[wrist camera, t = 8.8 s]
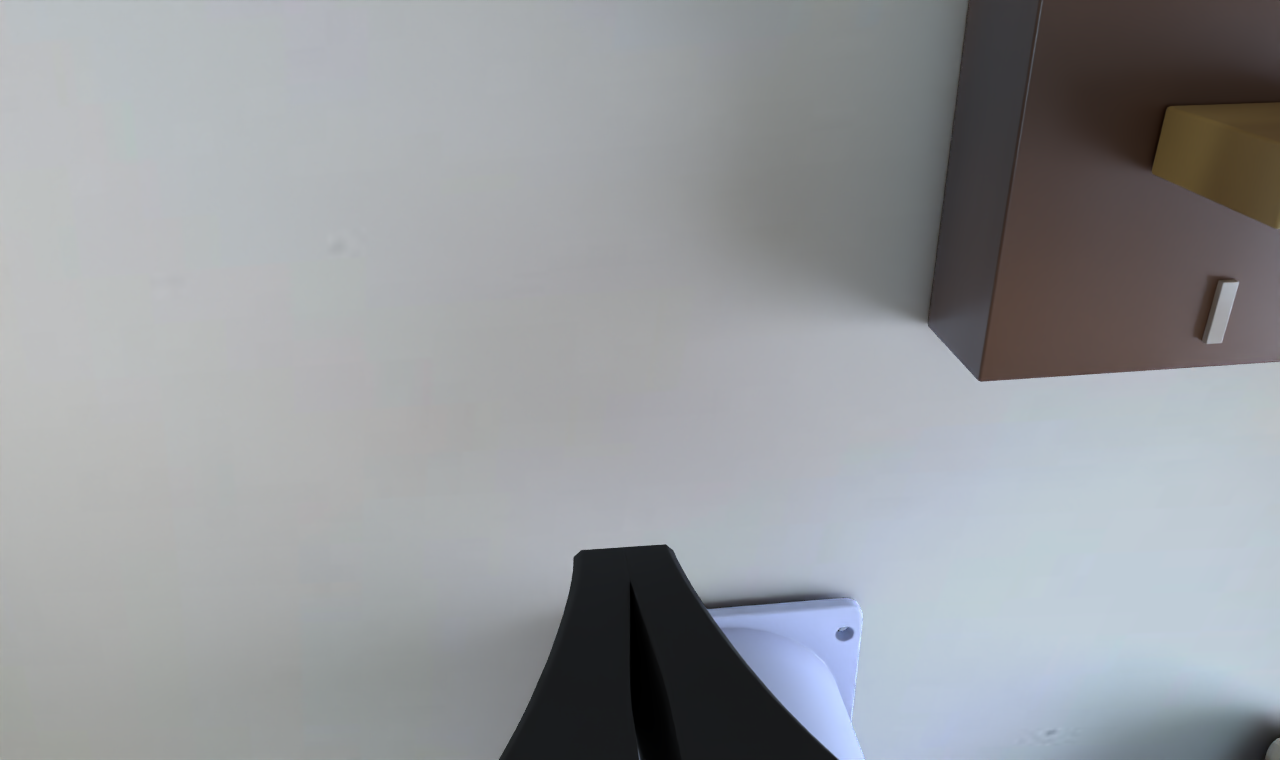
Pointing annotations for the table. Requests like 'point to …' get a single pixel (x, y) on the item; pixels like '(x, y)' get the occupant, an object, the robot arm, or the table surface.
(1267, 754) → the handle
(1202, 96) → the plate
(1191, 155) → the thumbturn
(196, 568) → the table surface
